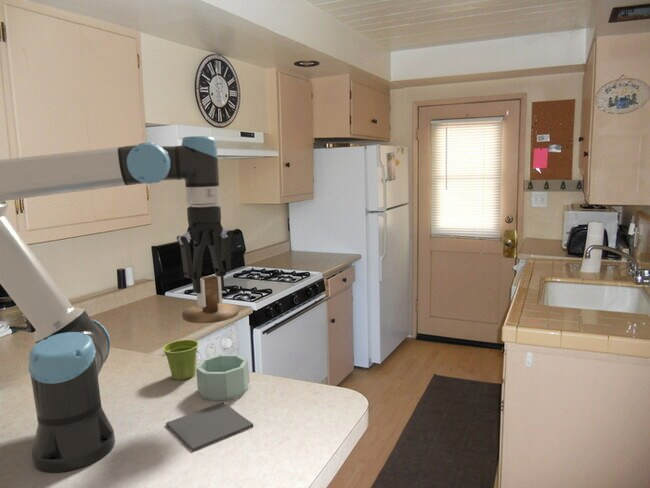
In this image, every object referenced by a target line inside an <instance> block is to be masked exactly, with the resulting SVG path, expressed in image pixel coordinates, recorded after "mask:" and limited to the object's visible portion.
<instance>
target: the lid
mask: <svg viewBox="0 0 650 488" xmlns="http://www.w3.org/2000/svg"><path fill="white" fill-rule="evenodd" d="M201 279H204V282H205V298H206V307H201V306H198V304H197V305H194V306H191V307H188V308H186V309H184V310H183V311H182V313H181V317H182V320H183V321H185V322H187V323H193V324H212V323H214V324H215V323H220V322H224V321H228V320H231V319H233V318H236V317H237V316H238V315H239V306H237V305H235V304H232V303H226V302H224V303H223V302H222V303H221V304H219V303H218V297H217V281H216V277H215V276H212V275H206V276H201Z"/></svg>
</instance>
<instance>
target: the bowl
mask: <svg viewBox="0 0 650 488" xmlns="http://www.w3.org/2000/svg"><path fill="white" fill-rule="evenodd" d="M195 375H196V382H197V391H198V392H199V394H200V396H201V397H202V398H203V399H204V400H208V401H211V402H212V401H213V402H215V401H216V402H218V401H219V402H220V401H221V402H223V401H228V400H229V401H230V400H232V399H235V398H236V399H237V398H239V397H240V396H243V395H244V394H245V393H247V392H248V389H249V384H250V370H249V360H248V359H247V358H245V357H243V356H242V355H240V354H217V355H215V356H211V357H208V358H205V359H202V360H201V361H200V363H198V364H197V365H196V367H195Z"/></svg>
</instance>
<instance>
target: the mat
mask: <svg viewBox="0 0 650 488" xmlns="http://www.w3.org/2000/svg"><path fill="white" fill-rule="evenodd" d="M165 425H166V427H168V428H169V430H170V431H172V432H173V433H174V434H175V435H176V436H177V437H178V438H179V439H180V440H181V442H183V443H184V445H186V446H187V447H188V448H189V449H190V450H191V451H192V452H195V451H197V450H199V449H202V448H204V447H207V446H210V445H212V444H215V443H216V442H219V441H221V440H224V439H225V438H229V437H231V436H234V435H236V434H239V433H241V432H243V431H247V430H248V429H251V428H253V427H254V423H253V422H251V421H250V420H248V419H247V418H246V417H244V416H243V415H241V414H240V413H239V412H238V411H236V410H235V409H234V408H233V407H231V406H229V405H228V404H226V403H225V402H223V401H221V402H219V403H217V404H213V405H211V406H208V407H206V408H205V407H204V408H203V409H201V410H198V411H193V412H192V413H189V414H186V415H183V416H180V417H178V418H176V419H173V420H169V421H167V422H165Z"/></svg>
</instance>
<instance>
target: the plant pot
mask: <svg viewBox="0 0 650 488" xmlns="http://www.w3.org/2000/svg"><path fill="white" fill-rule="evenodd" d="M199 344H200V343H199V342H198V341H197V340H194V339H180V340H179V339H178V340H175V341H172V342H171V341H170V342H169V343H167V344H165V345H164V346H162V351H163V352H164V355H165V356H166V359H167V363H168V366H169V370H170V373H171V378H173V379H174V380H178V381H184V380H187V379H189V378H193V377H194V376H195V375H196V367H197V365H196V362H197V351H198V347H199Z"/></svg>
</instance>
